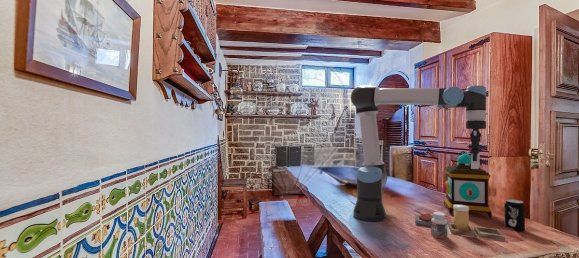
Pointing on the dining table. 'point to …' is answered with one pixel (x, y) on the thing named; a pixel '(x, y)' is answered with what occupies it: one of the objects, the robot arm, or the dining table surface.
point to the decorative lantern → (467, 186)
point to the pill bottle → (439, 226)
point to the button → (425, 216)
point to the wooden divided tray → (478, 233)
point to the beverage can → (514, 214)
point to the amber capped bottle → (461, 217)
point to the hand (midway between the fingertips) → (475, 167)
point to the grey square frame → (422, 221)
